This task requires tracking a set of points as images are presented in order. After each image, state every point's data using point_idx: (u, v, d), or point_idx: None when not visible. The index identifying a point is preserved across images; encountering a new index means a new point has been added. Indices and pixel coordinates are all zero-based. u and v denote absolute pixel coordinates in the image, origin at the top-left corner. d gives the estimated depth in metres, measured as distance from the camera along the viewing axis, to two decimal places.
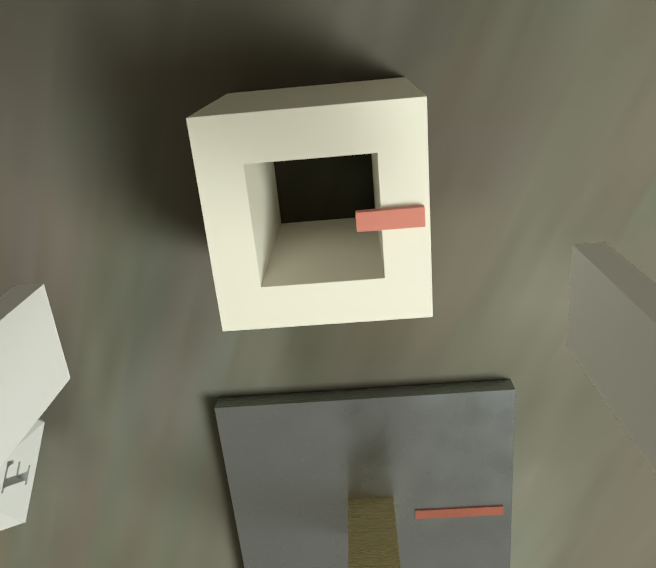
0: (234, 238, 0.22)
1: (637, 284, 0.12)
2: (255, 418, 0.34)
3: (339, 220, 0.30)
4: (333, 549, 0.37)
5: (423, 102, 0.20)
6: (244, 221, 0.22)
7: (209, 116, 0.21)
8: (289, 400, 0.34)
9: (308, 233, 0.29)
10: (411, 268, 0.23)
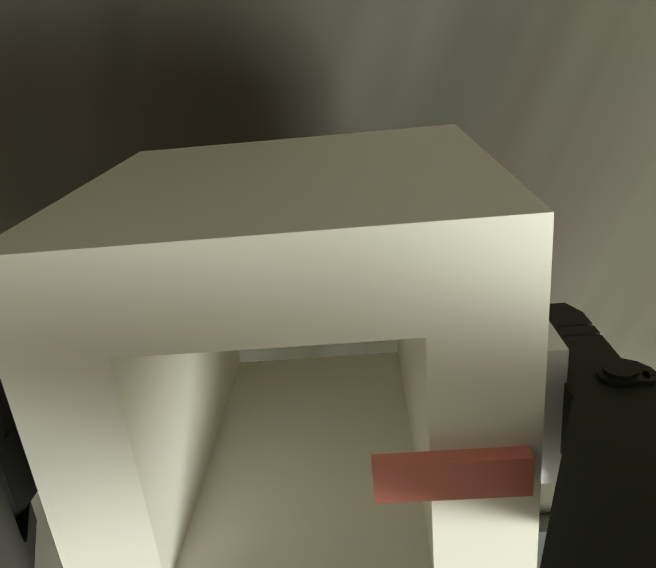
0: (101, 502, 0.10)
1: None
2: None
3: (337, 360, 0.18)
4: None
5: (545, 226, 0.08)
6: (121, 472, 0.10)
7: (17, 254, 0.09)
8: None
9: (283, 396, 0.16)
10: (493, 563, 0.10)
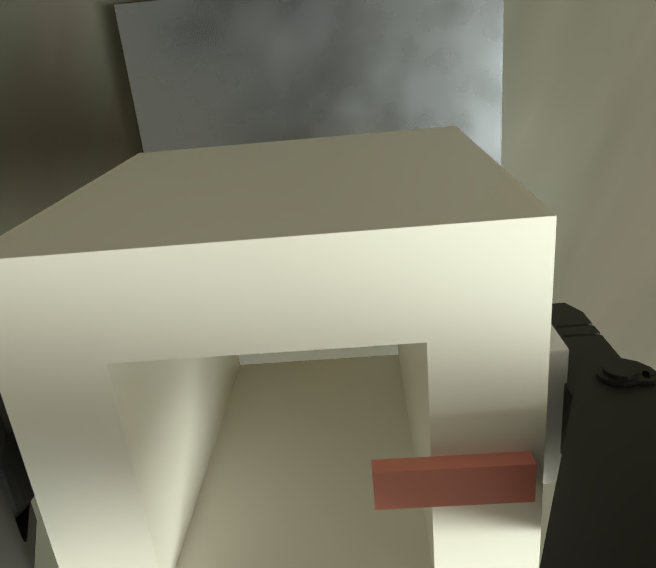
0: (100, 508, 0.10)
1: None
2: (167, 21, 0.26)
3: (338, 363, 0.18)
4: None
5: (547, 230, 0.08)
6: (119, 478, 0.10)
7: (14, 258, 0.08)
8: None
9: (283, 399, 0.16)
10: None
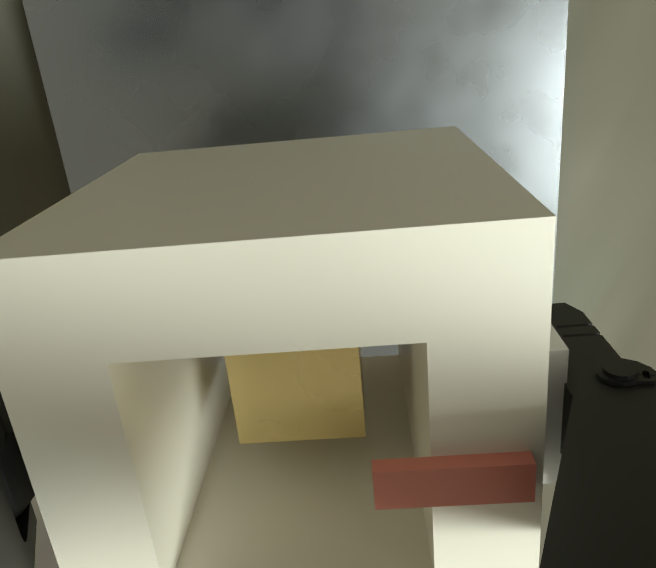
0: (100, 508, 0.10)
1: None
2: (98, 22, 0.19)
3: None
4: None
5: (547, 230, 0.08)
6: (119, 478, 0.10)
7: (15, 258, 0.08)
8: None
9: None
10: None
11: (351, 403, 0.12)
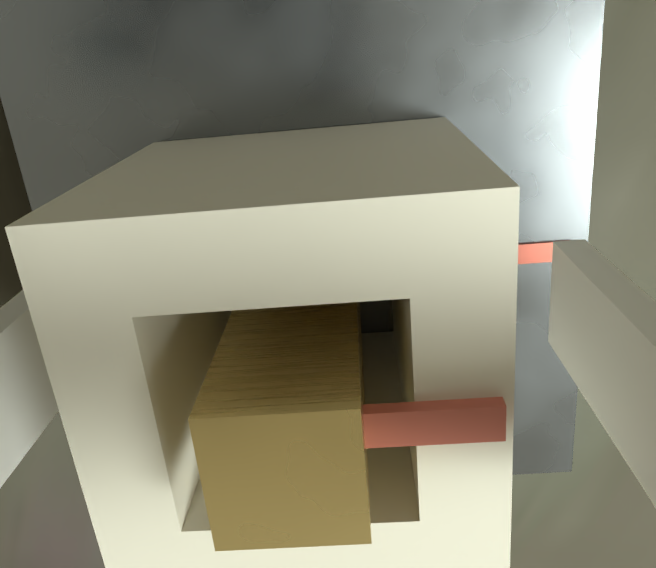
0: (123, 448, 0.11)
1: (612, 280, 0.13)
2: (62, 28, 0.16)
3: None
4: None
5: (512, 199, 0.09)
6: (141, 421, 0.11)
7: (54, 223, 0.10)
8: None
9: None
10: (472, 506, 0.12)
11: (354, 505, 0.10)
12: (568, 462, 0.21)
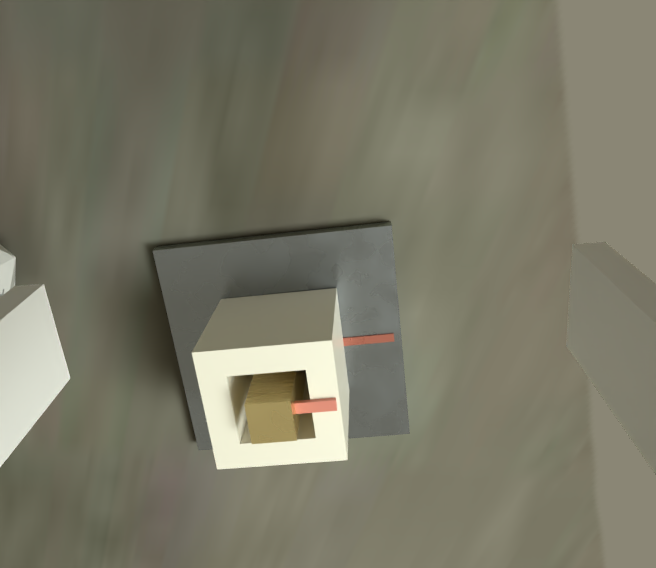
0: (222, 416, 0.37)
1: (637, 284, 0.12)
2: (186, 259, 0.42)
3: None
4: None
5: (330, 343, 0.35)
6: (228, 407, 0.36)
7: (205, 351, 0.35)
8: (212, 243, 0.42)
9: None
10: (331, 432, 0.37)
11: (290, 428, 0.35)
12: (407, 429, 0.46)
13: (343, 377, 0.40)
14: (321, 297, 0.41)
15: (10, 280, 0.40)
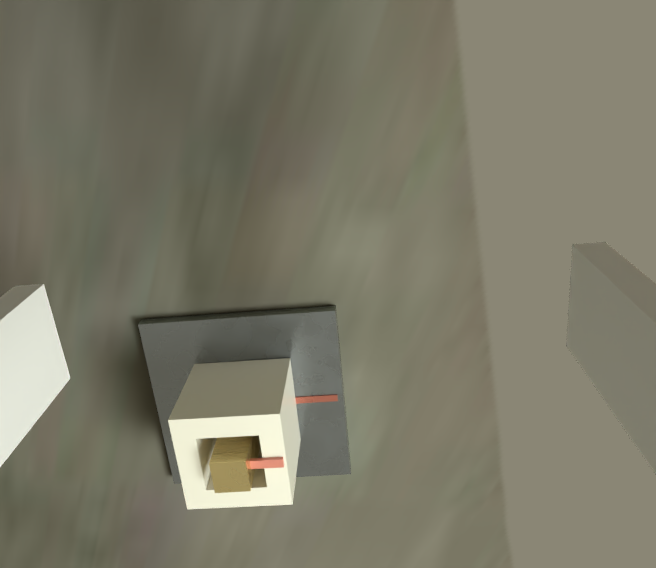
0: (192, 468, 0.46)
1: (637, 284, 0.12)
2: (165, 331, 0.50)
3: None
4: None
5: (278, 416, 0.44)
6: (196, 462, 0.45)
7: (178, 419, 0.44)
8: (188, 319, 0.50)
9: None
10: (279, 483, 0.46)
11: (245, 482, 0.44)
12: (348, 470, 0.55)
13: (293, 433, 0.49)
14: (276, 367, 0.50)
15: None
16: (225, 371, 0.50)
